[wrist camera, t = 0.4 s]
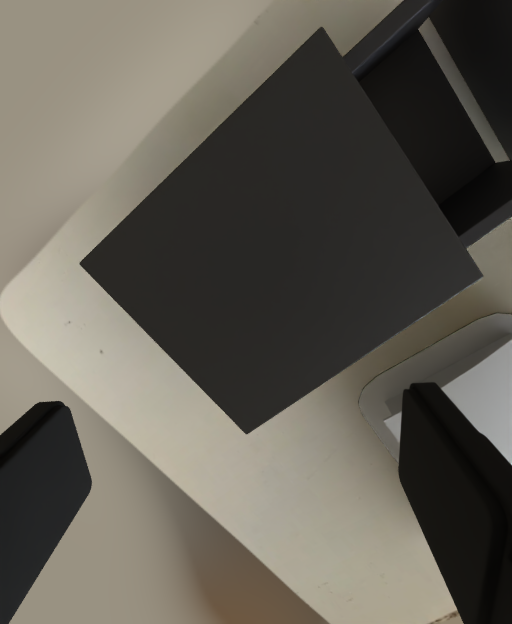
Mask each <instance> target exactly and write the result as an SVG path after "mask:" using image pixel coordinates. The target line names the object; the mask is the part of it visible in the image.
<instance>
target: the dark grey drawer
mask: <svg viewBox="0 0 512 624" xmlns="http://www.w3.org/2000/svg"><path fill="white" fill-rule="evenodd" d="M428 17H429V18H430V20H431V22H432V24H433V25H434V27H435V29H436V31H437V32H438V34H439V36H440V38H441V39H442V41H443V43H444V45H445V46H446V48H447V50H448V52H449V53H450V55H451V57H452V59H453V61H454V62H455V64H456V66H457V68H458V69H459V71H460V73H461V75H462V76H463V78H464V80H465V82H466V83H467V85H468V87H469V89H470V90H471V92H472V94H473V96H474V98H475V99H476V101H477V103H478V105H479V106H480V108H481V110H482V112H483V113H484V115H485V117H486V119H487V120H488V122H489V124H490V126H491V128H492V129H493V131H494V133H495V135H496V136H497V138H498V140H499V142H500V143H501V145H502V147H503V149H504V150H505V152H506V154H507V156H508V157H509V159H510V161H504V162H497V163H495V161H494V159H493V158H492V156H491V154H490V152H489V151H488V149H487V147H486V146H485V144H484V142H483V140H482V139H481V137H480V135H479V133H478V132H477V130H476V128H475V127H474V125H473V123H472V121H471V120H470V118H469V116H468V115H467V113H466V111H465V109H464V108H463V106H462V104H461V102H460V101H459V99H458V97H457V96H456V94H455V92H454V90H453V89H452V87H451V85H450V83H449V82H448V80H447V78H446V77H445V75H444V73H443V71H442V70H441V68H440V66H439V64H438V63H437V61H436V59H435V58H434V56H433V54H432V52H431V51H430V49H429V47H428V46H427V44H426V42H425V40H424V39H423V37H422V35H421V33H420V32H419V30H418V28H419V27H420V26H421V25H422V24H423V23H424V22H425V20H426V19H427V18H428ZM343 59H344V61H345V62H346V64H347V65H348V67H349V68H350V70H351V72H352V73H353V75H354V76H355V78H356V79H357V81H358V82H359V84H360V86H361V87H362V89H363V90H364V92H365V93H366V95H367V96H368V98H369V99H370V101H371V103H372V104H373V106H374V107H375V109H376V110H377V112H378V113H379V115H380V116H381V118H382V120H383V121H384V123H385V124H386V126H387V127H388V129H389V130H390V132H391V133H392V135H393V137H394V138H395V140H396V141H397V143H398V144H399V146H400V147H401V149H402V151H403V152H404V154H405V155H406V157H407V158H408V160H409V161H410V163H411V164H412V166H413V168H414V169H415V171H416V172H417V174H418V175H419V177H420V178H421V180H422V181H423V183H424V185H425V186H426V188H427V189H428V191H429V192H430V194H431V195H432V197H433V199H434V200H435V202H436V203H437V205H438V206H439V208H440V209H441V211H442V212H443V214H444V216H445V217H446V219H447V220H448V222H449V223H450V225H451V226H452V228H453V229H454V231H455V233H456V234H457V236H458V237H459V239H460V240H461V242H462V243H463V245H464V247H465V248H468V247H469V246H470V245H472V244H473V243H475V242H476V241H478V240H479V239H480V238H482V237H483V236H485V235H486V234H488V233H489V232H490V231H492V230H493V229H495V228H496V227H498V226H499V225H501V224H502V223H503V222H505V221H506V220H508V219H509V218H511V217H512V0H404V1H403V2H401V3H400V4H399V5H398V6H397V7H396V8H395V9H394V10H393V11H392V12H391V13H390V14H389V15H388V16H386V17H385V18H384V19H383V20H382V21H381V22H380V23H379V24H378V25H377V26H376V27H375V28H374V29H373V30H371V31H370V32H369V33H368V34H367V35H366V36H365V37H364V38H363V39H362V40H361V41H360V42H359V43H358V44H356V45H355V46H354V47H353V48H352V49H351V50H350V51H349V52H348V53H347V54H346V55H345V56H344V57H343Z"/></svg>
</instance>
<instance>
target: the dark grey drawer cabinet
mask: <svg viewBox="0 0 512 624" xmlns="http://www.w3.org/2000/svg"><path fill="white" fill-rule="evenodd" d="M79 264H80V265H81V266H82V267H83V268H84V269H85V270H86V271H87V272H88V273H89V274H90V276H91V277H92V278H93V279H94V280H95V281H96V282H97V283H98V284H99V285H100V286H101V287H102V288H103V289H104V290H105V291H106V292H107V293H108V294H109V295H110V296H111V297H112V298H113V299H114V300H115V301H116V302H117V303H118V304H119V305H120V306H121V307H122V308H123V309H124V310H125V311H126V312H127V313H128V314H129V315H130V316H131V317H132V318H133V319H134V320H135V321H136V322H137V323H138V325H139V326H140V327H141V328H142V329H143V330H144V331H145V332H146V333H147V334H148V335H149V336H150V337H151V338H152V339H153V340H154V341H155V342H156V343H157V344H158V345H159V346H160V347H161V348H162V349H163V350H164V351H165V352H166V353H167V354H168V355H169V356H170V357H171V358H172V359H173V360H174V361H175V362H176V363H177V364H178V365H179V366H180V367H181V368H182V369H183V370H184V371H185V372H186V373H187V375H188V376H189V377H190V378H191V379H192V380H193V381H194V382H195V383H196V384H197V385H198V386H199V387H200V388H201V389H202V390H203V391H204V392H205V393H206V394H207V395H208V396H209V397H210V398H211V399H212V400H213V401H214V402H215V403H216V404H217V405H218V406H219V407H220V408H221V409H222V410H223V411H224V412H225V413H226V414H227V415H228V416H229V417H230V418H231V419H232V420H233V421H234V422H235V423H236V425H237V426H238V427H239V428H240V429H241V430H242V431H243V432H244V433H245V434H248V433H250V432H251V431H253V430H254V429H256V428H257V427H259V426H260V425H262V424H263V423H265V422H266V421H268V420H269V419H271V418H272V417H274V416H275V415H277V414H278V413H280V412H281V411H283V410H284V409H286V408H287V407H289V406H290V405H292V404H293V403H295V402H296V401H298V400H299V399H301V398H302V397H304V396H305V395H307V394H308V393H310V392H311V391H313V390H314V389H316V388H317V387H319V386H320V385H322V384H323V383H325V382H326V381H328V380H329V379H331V378H332V377H334V376H336V375H337V374H339V373H340V372H342V371H343V370H345V369H346V368H348V367H349V366H351V365H352V364H354V363H355V362H357V361H358V360H360V359H361V358H363V357H364V356H366V355H367V354H369V353H370V352H372V351H373V350H375V349H376V348H378V347H379V346H381V345H382V344H384V343H385V342H387V341H388V340H390V339H391V338H393V337H394V336H396V335H397V334H399V333H400V332H402V331H403V330H405V329H406V328H408V327H409V326H411V325H412V324H414V323H415V322H417V321H418V320H420V319H421V318H423V317H424V316H426V315H427V314H429V313H430V312H432V311H433V310H435V309H436V308H438V307H439V306H441V305H442V304H444V303H445V302H447V301H448V300H450V299H451V298H453V297H454V296H456V295H457V294H459V293H460V292H462V291H463V290H465V289H466V288H468V287H469V286H471V285H472V284H474V283H475V282H477V281H478V280H480V279H481V278H483V274H482V273H481V271H480V270H479V268H478V267H477V265H476V264H475V262H474V260H473V259H472V257H471V256H470V254H469V253H468V251H467V250H466V248H465V247H464V245H463V243H462V242H461V240H460V239H459V237H458V236H457V234H456V233H455V231H454V229H453V228H452V226H451V225H450V223H449V222H448V220H447V219H446V217H445V216H444V214H443V212H442V211H441V209H440V208H439V206H438V205H437V203H436V202H435V200H434V199H433V197H432V195H431V194H430V192H429V191H428V189H427V188H426V186H425V185H424V183H423V181H422V180H421V178H420V177H419V175H418V174H417V172H416V171H415V169H414V168H413V166H412V164H411V163H410V161H409V160H408V158H407V157H406V155H405V154H404V152H403V151H402V149H401V147H400V146H399V144H398V143H397V141H396V140H395V138H394V137H393V135H392V133H391V132H390V130H389V129H388V127H387V126H386V124H385V123H384V121H383V120H382V118H381V116H380V115H379V113H378V112H377V110H376V109H375V107H374V106H373V104H372V103H371V101H370V99H369V98H368V96H367V95H366V93H365V92H364V90H363V89H362V87H361V86H360V84H359V82H358V81H357V79H356V78H355V76H354V75H353V73H352V72H351V70H350V68H349V67H348V65H347V64H346V62H345V61H344V59H343V58H342V56H341V55H340V53H339V51H338V50H337V48H336V47H335V45H334V44H333V42H332V41H331V39H330V38H329V36H328V34H327V33H326V31H325V30H324V28H323V27H320V28H319V29H318V30H317V31H316V32H315V33H314V34H313V35H312V36H311V37H310V38H309V39H308V40H307V41H306V42H305V43H304V44H303V45H302V46H301V47H300V48H299V49H298V50H297V51H296V52H295V53H293V54H292V55H291V56H290V57H289V58H288V59H287V60H286V61H285V62H284V63H283V64H282V65H281V66H280V67H279V68H278V69H277V70H276V71H275V72H274V73H273V74H272V75H271V76H270V77H269V78H268V79H267V80H266V81H265V82H264V83H263V84H262V85H261V86H260V87H259V88H258V89H257V90H256V91H255V92H254V93H253V94H252V95H251V96H249V97H248V98H247V99H246V100H245V101H244V102H243V103H242V104H241V105H240V106H239V107H238V108H237V109H236V110H235V111H234V112H233V113H232V114H231V115H230V116H229V117H228V118H227V119H226V120H225V121H224V122H223V123H222V124H221V125H220V126H219V127H218V128H217V129H216V130H215V131H214V132H213V133H212V134H211V135H210V136H209V137H208V138H207V139H206V140H204V141H203V142H202V143H201V144H200V145H199V146H198V147H197V148H196V149H195V150H194V151H193V152H192V153H191V154H190V155H189V156H188V157H187V158H186V159H185V160H184V161H183V162H182V163H181V164H180V165H179V166H178V167H177V168H176V169H175V170H174V171H173V172H172V173H171V174H170V175H169V176H168V177H167V178H166V179H165V180H164V181H163V182H162V183H161V184H159V185H158V186H157V187H156V188H155V189H154V190H153V191H152V192H151V193H150V194H149V195H148V196H147V197H146V198H145V199H144V200H143V201H142V202H141V203H140V204H139V205H138V206H137V207H136V208H135V209H134V210H133V211H132V212H131V213H130V214H129V215H128V216H127V217H126V218H125V219H124V220H123V221H122V222H121V223H120V224H119V225H118V226H117V227H115V228H114V229H113V230H112V231H111V232H110V233H109V234H108V235H107V236H106V237H105V238H104V239H103V240H102V241H101V242H100V243H99V244H98V245H97V246H96V247H95V248H94V249H93V250H92V251H91V252H90V253H89V254H88V255H87V256H86V257H85V258H84V259H83V260H82V261H81V262H80V263H79Z"/></svg>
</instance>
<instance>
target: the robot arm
mask: <svg viewBox="0 0 512 624" xmlns="http://www.w3.org/2000/svg"><path fill="white" fill-rule="evenodd" d="M398 472H399V478H400V482H401V484H402V487H403V489H404V491H405V493H406V496H407V498H408V500H409V502H410V505H411V507H412V509H413V511H414V514H415V516H416V518H417V520H418V523H419V525H420V527H421V529H422V532H423V534H424V536H425V538H426V540H427V543H428V545H429V547H430V549H431V552H432V554H433V556H434V558H435V561H436V563H437V565H438V567H439V570H440V572H441V574H442V576H443V578H444V581H445V583H446V585H447V587H448V590H449V592H450V594H451V596H452V599H453V601H454V603H455V605H456V608H457V610H458V612H459V614H460V616H461V619H462V621H463V623H464V624H512V465H511V464H510V463H509V461H508V460H507V459H506V458H505V457H504V456H503V455H502V454H501V452H500V451H499V450H498V449H497V448H496V447H495V446H494V445H493V443H492V442H491V441H490V440H489V439H488V438H487V437H486V436H485V435H484V434H482V433H479V431H478V430H477V429H476V428H475V427H474V426H473V425H472V423H471V422H470V421H469V420H468V419H467V418H466V417H465V415H464V414H463V413H462V412H461V411H460V410H459V409H458V407H457V406H456V405H455V404H454V403H453V402H452V401H451V399H450V398H449V397H448V396H447V395H446V394H445V393H444V391H443V390H442V389H441V388H440V387H439V386H438V385H437V384H436V383H435V382H424V383H412V384H410V387H409V389H404V391H403V397H402V414H401V432H400V449H399V466H398ZM91 485H92V480H91V476H90V473H89V470H88V466H87V463H86V460H85V457H84V453H83V450H82V447H81V443H80V440H79V437H78V434H77V430H76V427H75V424H74V421H73V417H72V414H71V411H70V409H69V407H67V406H65V405H64V403H62V402H61V401H51V402H39V403H37V404H35V405H34V406H33V407H32V408H31V409H30V410H29V411H27V412H26V413H25V414H24V415H23V416H22V417H21V418H19V419H18V420H17V421H16V422H15V423H14V424H13V425H12V426H10V427H9V428H8V429H7V430H6V431H4V432H3V433H2V434H1V435H0V624H9V622H10V620H11V619H12V617H13V616H14V614H15V612H16V611H17V609H18V607H19V606H20V604H21V603H22V601H23V599H24V598H25V596H26V594H27V593H28V591H29V590H30V588H31V587H32V585H33V583H34V582H35V580H36V578H37V577H38V575H39V574H40V572H41V570H42V569H43V567H44V565H45V564H46V562H47V561H48V559H49V557H50V556H51V554H52V553H53V551H54V549H55V548H56V546H57V545H58V543H59V541H60V540H61V538H62V536H63V535H64V533H65V532H66V530H67V528H68V527H69V525H70V523H71V522H72V520H73V519H74V517H75V515H76V514H77V512H78V511H79V509H80V507H81V506H82V504H83V502H84V501H85V499H86V498H87V496H88V494H89V492H90V490H91Z"/></svg>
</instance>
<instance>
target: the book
mask: <svg viewBox="0 0 512 624" xmlns="http://www.w3.org/2000/svg"><path fill="white" fill-rule="evenodd" d="M424 382H435V383H436V384H437V385H438V386H439V387H440V388H441V389H442V390H443V391H444V393H445V394H446V395H447V396H448V397H449V398H450V399H451V401H452V402H453V403H454V404H455V405H456V406H457V407H458V409H459V410H460V411H461V412H462V413H463V414H464V415H465V417H466V418H467V419H468V420H469V421H470V422H471V423H472V425H473V426H474V427H475V428H476V429H477V430H478V431H479V433H482V434H484V435H485V436H486V437H487V438H488V439H489V440H490V441H491V442H492V443H493V445H494V446H495V447H496V448H497V449H498V450H499V451H500V452H501V454H502V455H503V456H504V457H505V458H506V459H507V460H508V461H509V463H510V464H511V465H512V314H504V313H495V314H492V315H489V316H486V317H483V318H480V319H477V320H476V321H474V322H472V323H470V324H468V325H467V326H465V327H463V328H461V329H460V330H458V331H456V332H454V333H452V334H451V335H449V336H447V337H445V338H444V339H442V340H440V341H438V342H437V343H435V344H433V345H431V346H429V347H428V348H426V349H424V350H422V351H421V352H419V353H417V354H415V355H414V356H412V357H410V358H408V359H406V360H405V361H403V362H401V363H399V364H398V365H396V366H394V367H392V368H391V369H389V370H387V371H385V372H383V373H382V374H380V375H378V376H377V377H375V378H374V379H373V380H372V381H371V382H370V383H369V384H367V385H366V386H365V387H364V388H363V391H362V393H361V396H360V399H359V401H358V403H359V406H360V409H361V413H362V415H363V417H364V418H365V419H366V421H367V422H368V423H369V425H370V426H371V428H372V429H373V430H374V432H375V433H376V434H377V436H378V437H379V439H380V440H381V441H382V443H383V444H384V445H385V447H386V448H387V449H388V451H389V452H390V454H391V455H392V456H393V458H394V459H395V460H396V462H397V463H398V464H399V449H400V432H401V414H402V397H403V391H404V389H409V387H410V384H412V383H424Z"/></svg>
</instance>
